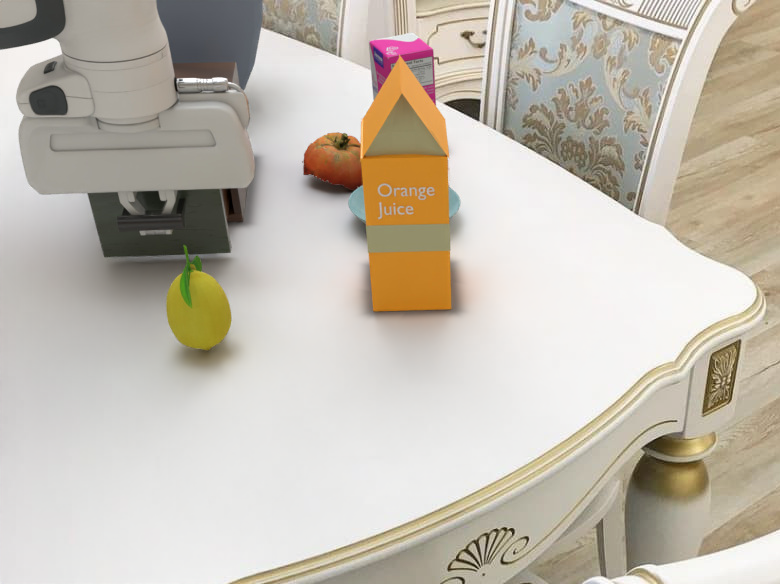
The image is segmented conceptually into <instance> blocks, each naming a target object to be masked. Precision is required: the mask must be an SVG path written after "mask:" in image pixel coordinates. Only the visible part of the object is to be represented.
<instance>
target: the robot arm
mask: <svg viewBox="0 0 780 584" xmlns="http://www.w3.org/2000/svg"><path fill="white" fill-rule="evenodd" d="M51 39H54V40H56V41H57V42H58V43H59V47H60V50H61V54H59V55H56V56H54V57H51V58H49V59H45V60H42V61H39V62H37V63H35V64H33V65H32V66H30V67H29V68H28V69H27V70H26V72H25V73H24V74H23V75H22V78H21V79H20V81H19V83H18V86H17V89H16V93H15V101H16V104H17V108H18V110H19V112H20V113H21V114H22V115H23V116H22V118H21V121H20V123H19V126H18V133H17V137H18V145H19V151H20V156H21V161H22V166H23V170H24V174H25V178H26V181H27V183H28V185H29V186H30V187H31V188H32V189H33V190H34V191H35V192H37V193H38V194H39V195H43V196H44V195H45V196H46V195H69V194H71V195H72V194H87V193H105V192H118V196H119V200H120V203H121V204H122V205H123V206H124V207H125V208H126V209H127V211H128V212H129V213H130V214H131V215H150V214H171V212H172V209H173V206H174V204H175V201H176V197H177V192H178V190H196V189H226V188H246V187H247V188H248V187H249V185H251V184H252V182H253V180H254V178H255V175H256V161H255V156H254V151H253V146H252V141H251V138H250V135H249V132H248V131H249V130H248V126H249V124H250V122H251V110H250V105H249V99H248V95H247V94H246V92H245V90H244V91H243V90H242V89H241V88H240V87H239V86H238V85H236V84H234V83H231V82H228V79H226V78H220V77H216V78H212V79H199V78H198V79H197V78H176V77H175V75H174V69H173V63H172V58H171V53H170V48H169V43H168V38H167V34H166V31H165V29H164V27H163V25H162V23H161V20H160V18H159V14H158V11H157V4H156V0H0V51H3V50H9V49H14V48H20V47H25V46H30V45H34V44H38V43H42V42H46V41H48V40H51ZM229 87H230V88H233V89H235V90H229ZM137 191H159V196H160V200H161V201H165V204H164V207H163V210H145V209H144V207H143V206H142V205H141V204H140V202H139V201H138V200H137V199H136V195H137ZM172 231H173V230H150V231H140V234H141V235H163V234H172Z"/></svg>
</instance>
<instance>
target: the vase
mask: <svg viewBox="0 0 780 584" xmlns="http://www.w3.org/2000/svg"><path fill="white" fill-rule="evenodd" d="M156 4H157V11H158V14H159V18H160V20H161V23H162V25H163V27H164V29H165V31H166V34H167V38H168V43H169V48H170V53H171V58H172V63H213V62H236V65H237V72H238V78H239V85H240V88H241V89H242V90H243V91H244V92H245V89H246V87H247V84H248V82H249V79H250V77H251V74H252V72H253V70H254V66H255V64H256V58H257V52H258V47H259V41H260V36H261V30H262V25H263V19H264V18H263V17H264V16H263V12H264V11H263V8H264V6H263V4H264V2H263V0H156Z"/></svg>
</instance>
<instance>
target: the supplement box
mask: <svg viewBox="0 0 780 584" xmlns="http://www.w3.org/2000/svg"><path fill="white" fill-rule="evenodd" d="M368 49H369V61H370V62H369V63H370V73H371V88H372V97H373V98H372V99H373V101H374V99H375V98H376V96H377V94H378V93H379V91H380V89H381V88H382V86H383V84H384V82H385V81H386V79H387V77H388V76H389V74H390V72H391V71H392V69H393V67H394V66H395V64H396V62H397V61H398V59H399V55H400V56H401V57H402V59H403V60H404V62H405V63H406V64H407V66H408V67H409V69H410V70H411V72H412V73H413V74H414V76H415V77H416V79H417V80H418V81H419V83H420V84H421V86H422V87H423V88H424V90H425V91H426V93H427V94H428V96H429V97H430V98H431V100H432V101H433V103H434V104H435V105H436V106H437V100H436V96H437V95H436V78H435V75H436V74H435V53H434V48H433V47H431V46H430V45H429V44H427V42H425V41H424V40H423V39H421V38H420V37H419V36H418V35H417V34H416V33H414V32H407V33H403V34H398V35H393V36H387V37H382V38H375V39H370V40H368Z"/></svg>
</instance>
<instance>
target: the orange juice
mask: <svg viewBox="0 0 780 584" xmlns="http://www.w3.org/2000/svg"><path fill="white" fill-rule="evenodd" d="M447 133H448V132H447V121H446V118H445V116H444V115H443V114H442V112H441V111H440V110H439V108H438V107H437V104H436V105H435V104H434V103H433V101H432V100H431V98H430V97H429V96H428V94H427V93H426V91H425V90H424V88H423V87H422V86H421V84H420V83H419V81H418V80H417V79H416V77H415V76H414V74H413V73H412V72H411V70H410V69H409V67H408V66H407V64H406V63H405V62H404V60H403V59H402V57H401V56H400V55H399V59H398V61H397V62H396V64H395V66H394V67H393V69H392V71H391V72H390V74H389V76H388V77H387V79H386V81H385V82H384V84H383V86H382V88H381V89H380V91H379V93H378V94H377V96H376V98H375V99H374V100H373V101H372V103H371V104H370V106H369V108H368V110H367V111H366V112H365V115H364V116H363V118H361V121H360V144H361V146H360V162H361V167H362V180H363V182H362V183H363V186H362V187H363V192H364V204H365V216H366V223H365V232H366V244H367V245H366V246H367V253H368V265H369V275H370V276H369V277H370V278H369V279H370V288H371V289H370V290H371V301H372V311H373V312H404V311H438V310H439V311H441V310H452V274H451V273H452V272H451V271H452V269H451V223H450V219H449V195H450V192H449V189H448V187H449V182H451V181H450V179H449V176H451V174H450V173H451V172H450V167H449V166H450V165H449V159H450V151H449V141H448V134H447Z"/></svg>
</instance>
